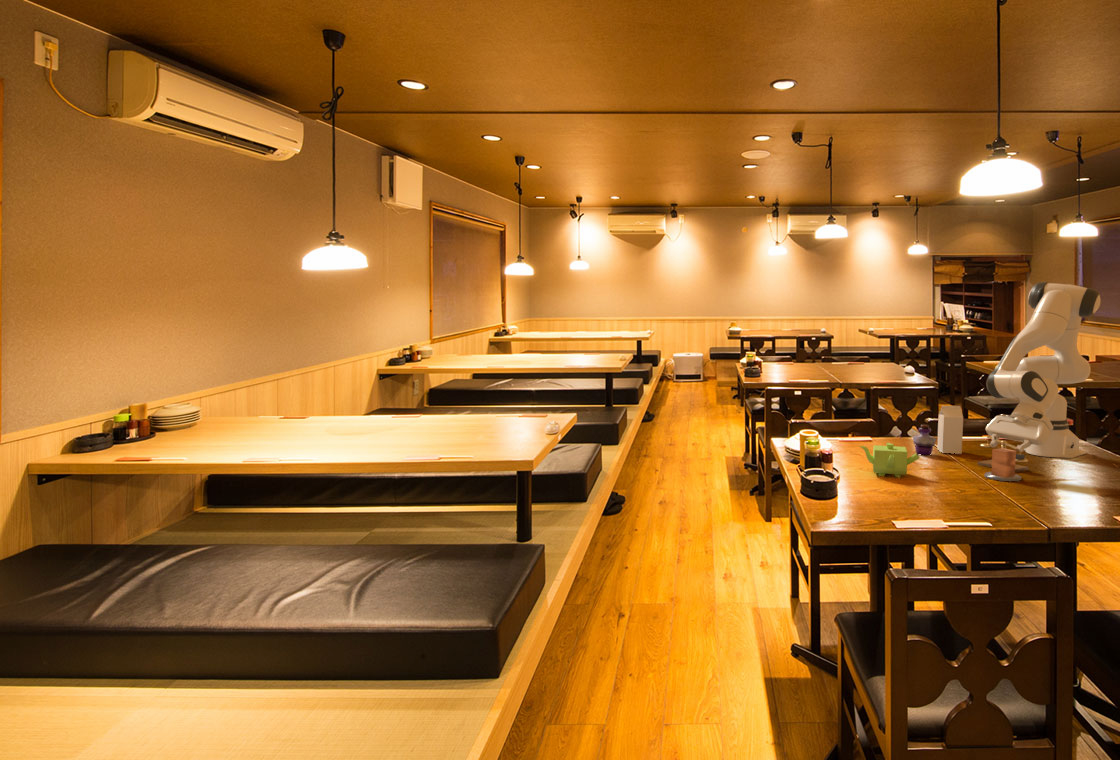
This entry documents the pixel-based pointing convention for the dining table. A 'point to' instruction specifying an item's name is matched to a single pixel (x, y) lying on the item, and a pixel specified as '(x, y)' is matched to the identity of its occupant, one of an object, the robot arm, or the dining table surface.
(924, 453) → the potion bottle
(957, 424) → the milk carton
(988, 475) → the gray dish
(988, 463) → the brass balance
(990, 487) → the dining table surface
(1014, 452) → the terracotta block
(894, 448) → the kettle
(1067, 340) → the robot arm
